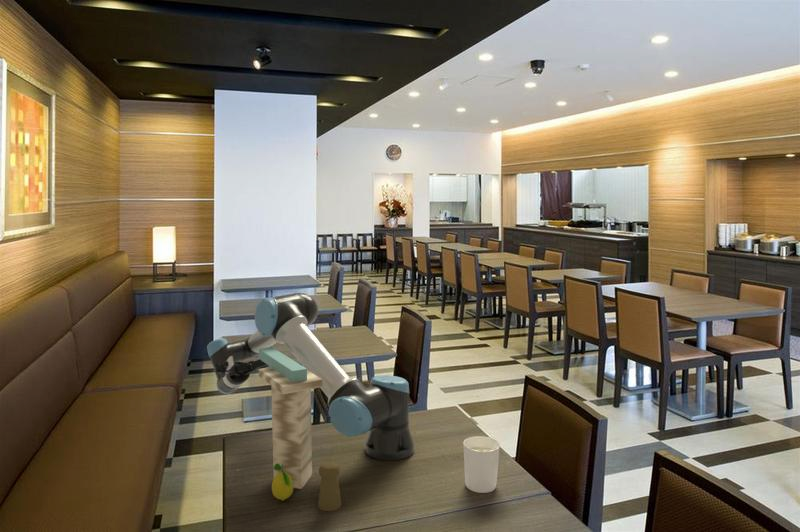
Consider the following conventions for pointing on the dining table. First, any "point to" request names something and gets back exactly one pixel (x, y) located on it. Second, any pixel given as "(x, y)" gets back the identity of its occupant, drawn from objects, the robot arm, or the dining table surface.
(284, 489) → the lemon
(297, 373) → the bar
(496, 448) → the candle holder
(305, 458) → the stand
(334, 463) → the cork
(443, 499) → the dining table surface
